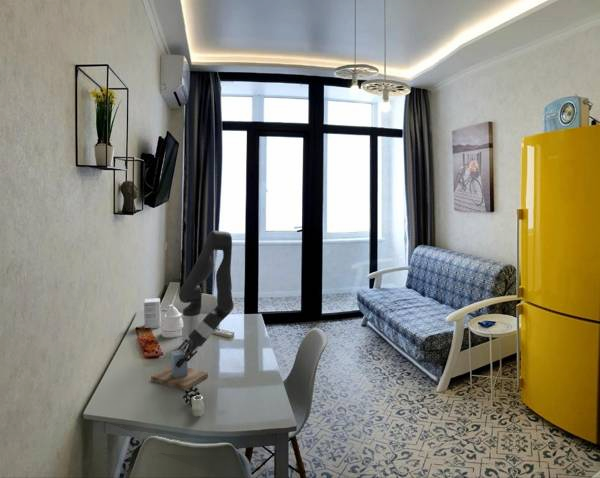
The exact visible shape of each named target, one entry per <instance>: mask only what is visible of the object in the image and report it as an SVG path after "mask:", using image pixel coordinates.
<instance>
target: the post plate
mask: <svg viewBox="0 0 600 478" xmlns="http://www.w3.org/2000/svg"><path fill="white" fill-rule="evenodd" d="M187 370H188V375H186V376H182V377H177V378H174V376H173V374H172V365H170V366H168V367H166V368H164V369H162V370H161V371H158V372H157V373H154V374H152V375H151V377H150V378H151V379H150V380H153V382H155V381H156V383H158V382H160V384H162V383H163V384H162V385H165V384H166V385H165V386H169V387H173V388H177V389H180V390H184V391H185V390H187V391H188V390H190V389H189V388H190V387H192V388H193V386H196V385H197V384H199V383H200V382H202V381H204V380H205V379H207V378H208V377H209V373H208V372H206V371H204V370H198V369H194V368H191V367H187ZM195 384H196V385H195Z"/></svg>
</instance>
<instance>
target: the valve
mask: <svg viewBox="0 0 600 478" xmlns="http://www.w3.org/2000/svg"><path fill="white" fill-rule="evenodd" d="M198 390H199V389H198V387H194V388H193V386H192V387H190V388H189V389H187V390H184V395H182V399H184V403H185V404H188V403H189V404H191V408H192V415H193V416H200V417H202V416H203V415H204V407H205V405H204V397H203V395H200V394H201V393H200V391H198ZM193 392H194V393H193Z"/></svg>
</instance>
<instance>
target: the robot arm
mask: <svg viewBox="0 0 600 478" xmlns="http://www.w3.org/2000/svg"><path fill="white" fill-rule="evenodd" d="M214 251H222V254H223V255H222V256H223V257H222V260H221V263H220V265H219V267H218V269H217V271H216V274H215V280H216V282H215V283H216V284H215V285H216V291H217V292H216V293H217V294H216V295H217V296H216V303H217V305H216V306H215V307H214V309H213V310H212V311H210V312H208V314H207V315H206V316H205V317H204V318H203V319H202V320H201V309H202V299H203V298H202V297H203V296H202V288H201V287H200V284H203V282H205V281H206V280H207V279H208V278H209V276H210V275H211V274H212V272H213V270H214V267H215V266H214V265H215V264H214V260H213V258H212V254H213V252H214ZM232 251H233V239H232V234H231V233H230V232H228V231H222V230H212V231H210V232H209V233H208V235H207V237H206V240H205V242H204V245H203V247H202V250H201V252H200V254H199V256H198V258H197V259H196V262H195V263H194V265H193V267H192V269H191V271H190V273H189V275H188V277H187V279H186V280H185V282H183V284H182V286H181V287H180V289H179V292H178V298H179V300H180V302H181V303H185V304H187V303H189V304H188V305H187V306H186V307H184V308H183V310H182V321H183V327H182V336H181V338H182V339H181V345H180V346H179V347H178V348H177V350H185V351H184V352H183V353H184V354H183V356H182V358H181V359H180V360H179V361H178V362H177V363H176V366H177V367H178V368H180V367H181V366H182V364H183V363H184V362H185V361H187V363H188V362H189V361H191V359H192V358H193V357H194V356H195V355H196V354H198V350H197V347H203V345H204V344H205V342H206V341H207V340H208V339H209V338H210V337H211V336H212V334H213V332H214V331H215V330H216V329H217V328H218V326H219V325H220V324H221V322H223V320H224V319H226V317H227V316H229V315H230V313H231V312H232V311H233V310H234V300H233V295H232V294H233V292H232V288H233V286H232V285H233V284H232V276H231V275H232V273H231V271H232V269H231V267H232V266H231V265H232V256H233V255H232Z"/></svg>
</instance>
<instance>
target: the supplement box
mask: <svg viewBox="0 0 600 478" xmlns="http://www.w3.org/2000/svg"><path fill="white" fill-rule="evenodd" d="M143 314H144V315H143V316H144V318H143V319H144V328H145V327H151V328H150V329H160V328H161V326H162V325H161V324H162V321H161V319H162V316H161V298H160V297H156V298H145V299H144V302H143ZM159 327H160V328H159Z"/></svg>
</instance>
